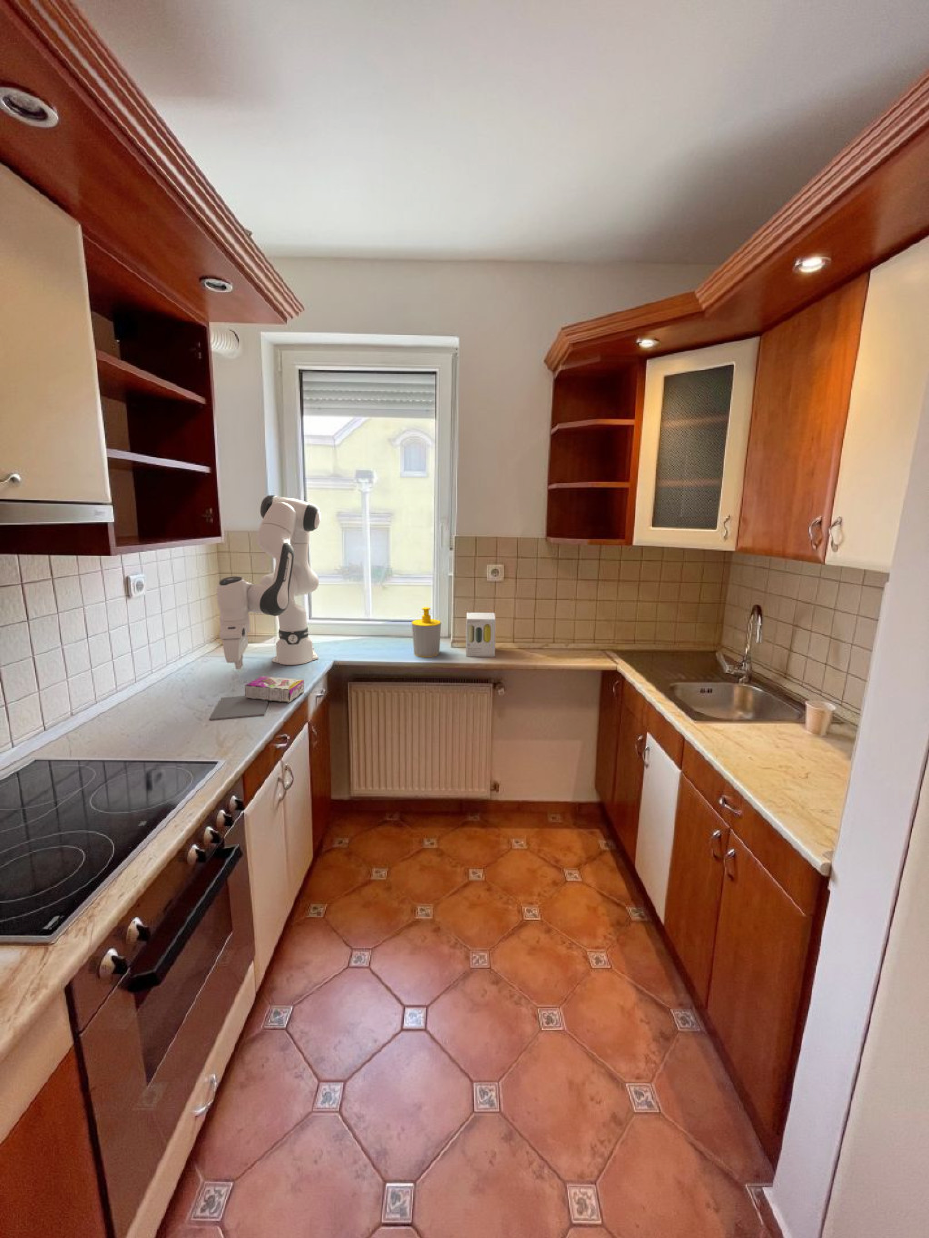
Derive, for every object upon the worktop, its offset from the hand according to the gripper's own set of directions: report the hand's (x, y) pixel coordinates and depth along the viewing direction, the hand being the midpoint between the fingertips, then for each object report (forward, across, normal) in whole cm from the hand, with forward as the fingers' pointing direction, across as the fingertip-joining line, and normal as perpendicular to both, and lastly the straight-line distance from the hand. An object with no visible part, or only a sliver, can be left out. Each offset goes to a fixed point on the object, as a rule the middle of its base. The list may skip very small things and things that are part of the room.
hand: (239, 667), depth 166 cm
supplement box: (+13, -40, +95) cm, 104 cm away
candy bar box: (+10, -8, +2) cm, 13 cm away
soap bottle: (+13, -44, +71) cm, 85 cm away
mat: (+13, +2, 0) cm, 13 cm away
